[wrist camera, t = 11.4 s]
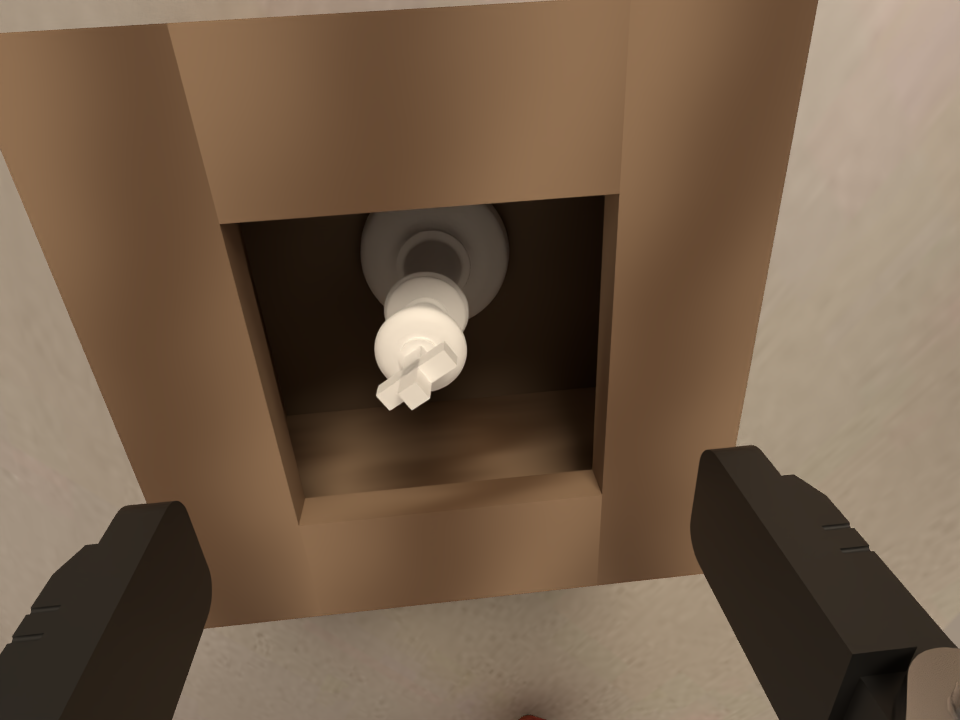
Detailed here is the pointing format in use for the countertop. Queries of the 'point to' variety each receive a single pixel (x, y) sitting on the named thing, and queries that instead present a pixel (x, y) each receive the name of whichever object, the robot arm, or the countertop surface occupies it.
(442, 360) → the chess piece
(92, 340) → the drop box
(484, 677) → the countertop surface
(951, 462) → the countertop surface
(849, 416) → the countertop surface
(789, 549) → the robot arm
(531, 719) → the red oval fruit
